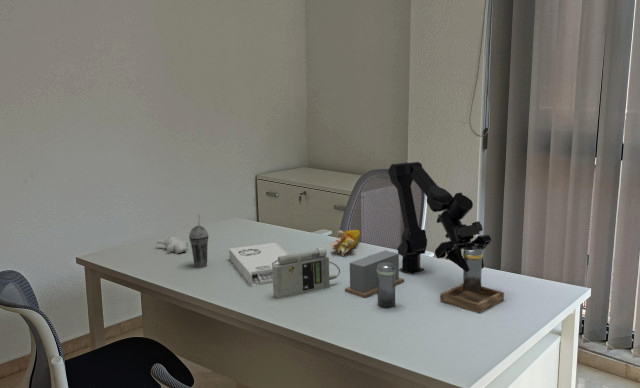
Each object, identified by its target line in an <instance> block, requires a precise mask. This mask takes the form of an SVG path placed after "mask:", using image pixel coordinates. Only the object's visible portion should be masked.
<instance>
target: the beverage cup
mask: <svg viewBox="0 0 640 388" xmlns="http://www.w3.org/2000/svg"><path fill="white" fill-rule="evenodd" d="M197 216H198V218H197V220H198V221H197V222H198V225H197V226H193V227H192V228H191V230H190V232H189V235H188V236H189V237H188V239H189V242H190V246H191V251H192V259H193V263H194V267H195V268H196V269H203V268H206V267H208V246H209V245H208V242H209V233H208V230H207V229H206V228H205V227H203V225H202V226H201V225H200V223H201V218H200V217H201V214H198V215H197Z"/></svg>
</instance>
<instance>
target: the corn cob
mask: <svg viewBox="0 0 640 388" xmlns="http://www.w3.org/2000/svg"><path fill="white" fill-rule="evenodd" d="M337 233H338V235H339V236H338V237H337V239H336V240H335V241H334V242H332V243H330V247H331V250H334V251H337V254H341V257H344V255H346V253H348V252H349V251H350V250H352V249H354V247H356V245H357V243H358V239H359V238H360V236H361V231H360V230H359V229H352V230H351V229H350V230H346V231H345V230H341V229H340V230H338V231H337Z"/></svg>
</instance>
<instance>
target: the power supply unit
mask: <svg viewBox="0 0 640 388" xmlns="http://www.w3.org/2000/svg"><path fill="white" fill-rule="evenodd" d="M228 251H229V252H228V253H229V255H228V257H229V261H230V262H231V263H232V264H233V265H234V267H235V268H236V269H237V270H238V272H239V273H240V274H241V275H242V277H243V278H244V279H245V280H246V281H247V283H248V284H249V285H250V286H251V287H253V286H259V285H266V284H273V270H272V263H273V262H275V261H276V260H278V257H279V256H284V255H290V254H289V252H287V251H285V249H283V248H282V247H281V246H280V245H279V244H277V242H271V243H269V242H268V243H262V244H255V245H253V244H252V245H248V246H239V247H231V248H228ZM274 264H279V262H278V261H277V262H276V263H274Z"/></svg>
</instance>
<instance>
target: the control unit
mask: <svg viewBox="0 0 640 388" xmlns="http://www.w3.org/2000/svg"><path fill="white" fill-rule="evenodd" d="M385 262H387V263H393V264H395V269H396V274H395V286H397V285H400V284H402V283H403V284H404V282H405V279H404V278H402V277H400V270H399V269H400V255H399V254H398V252H394V251H388V250H382V251H380V252H377V253H374V254H371V255H369V256H366V257H362V258H359V259H357V260H354V261H351V262H349V286H348V287H345V288H344V292H346V293H349V294H352V295H354V296H355V295H356V296H358V297H361V298H364V299H365V298H368V297H370V296H373V295H376V294H378V290H377V265H378V264H379V263H385Z"/></svg>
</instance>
